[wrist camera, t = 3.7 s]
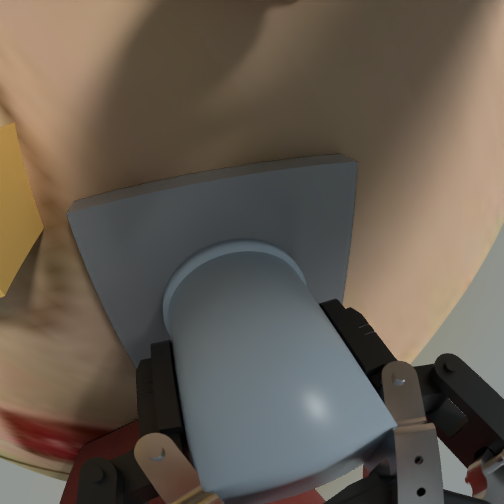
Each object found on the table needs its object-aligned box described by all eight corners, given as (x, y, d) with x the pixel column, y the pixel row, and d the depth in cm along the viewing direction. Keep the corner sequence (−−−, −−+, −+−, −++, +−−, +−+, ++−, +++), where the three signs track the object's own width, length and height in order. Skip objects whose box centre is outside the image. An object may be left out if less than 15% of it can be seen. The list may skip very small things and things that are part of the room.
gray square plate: (341, 153, 12) (357, 161, 11) (325, 333, 18) (334, 346, 17) (74, 201, 10) (66, 213, 9) (149, 377, 16) (151, 393, 15)
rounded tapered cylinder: (303, 224, 12) (438, 383, 5) (299, 331, 15) (372, 464, 9) (144, 257, 11) (159, 481, 4) (181, 360, 14) (215, 516, 8)
